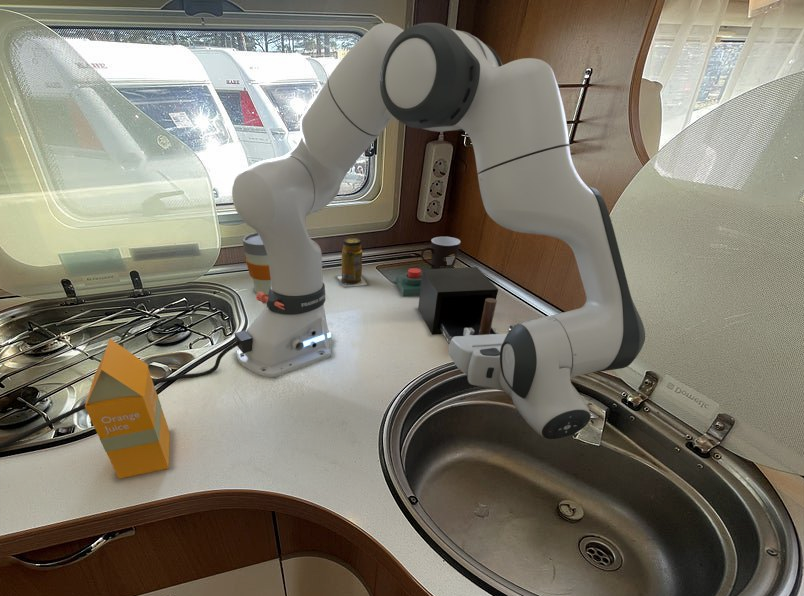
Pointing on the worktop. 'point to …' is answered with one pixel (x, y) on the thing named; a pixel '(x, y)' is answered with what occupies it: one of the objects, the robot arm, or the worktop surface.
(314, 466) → the worktop surface
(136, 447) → the orange juice
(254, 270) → the reusable coffee cup
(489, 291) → the oven
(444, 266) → the coffee mug
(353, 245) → the condiment
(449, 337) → the tray
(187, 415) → the worktop surface
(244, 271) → the worktop surface
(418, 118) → the robot arm
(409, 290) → the control box
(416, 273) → the stop button
